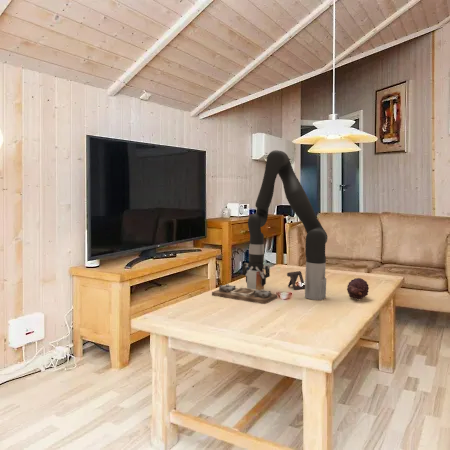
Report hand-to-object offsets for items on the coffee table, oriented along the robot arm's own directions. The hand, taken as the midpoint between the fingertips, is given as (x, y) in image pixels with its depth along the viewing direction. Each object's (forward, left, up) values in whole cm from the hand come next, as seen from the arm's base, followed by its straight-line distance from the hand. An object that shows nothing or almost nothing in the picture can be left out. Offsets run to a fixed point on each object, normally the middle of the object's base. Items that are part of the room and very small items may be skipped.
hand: (255, 284), depth 216 cm
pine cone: (-48, -13, -3) cm, 50 cm away
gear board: (-1, +14, -3) cm, 14 cm away
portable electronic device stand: (-15, -18, -3) cm, 24 cm away
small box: (0, 0, -3) cm, 3 cm away
